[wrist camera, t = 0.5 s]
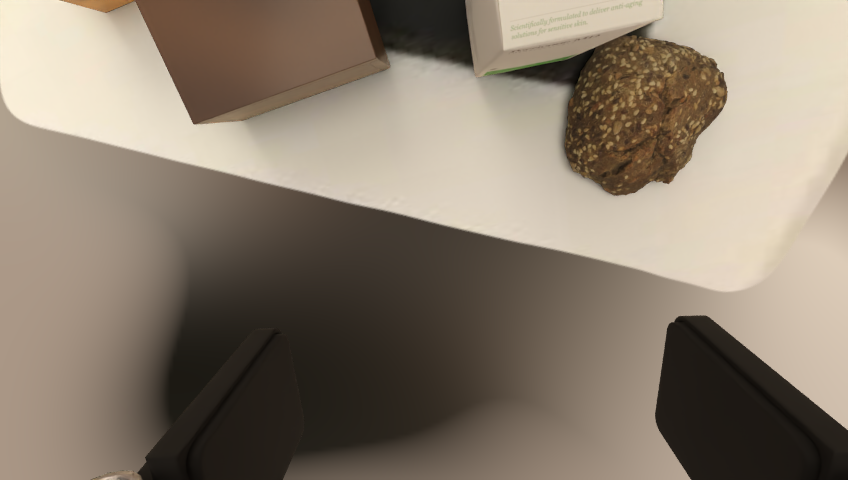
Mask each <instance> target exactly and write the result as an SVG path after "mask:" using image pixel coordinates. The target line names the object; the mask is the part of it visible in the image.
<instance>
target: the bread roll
mask: <svg viewBox="0 0 848 480" xmlns="http://www.w3.org/2000/svg"><path fill="white" fill-rule="evenodd" d="M716 66H717V64H716V62H715V61H714V59H711V58H709V59H708V57H706V56H702V55H700V53H699V52H697V51H695V50H694V49H692V48H690V47H687V46H679V45H676V44H675V43H673V42H668V41H661V40H657V39H649V38H643V37H639V38H637V36H634V35H632V36H627V35H622V36H620V37H618V38H615V39H613V40H611V41H608V42H606V43H604V44H601V45H599V46H598V47H597V48H595V51H594V53H593V55H592V56H591V58H590V59H589V60H588V61H587V63H586V65H585V66H584V68H583V69H582V70H581V72H580V77H579V80H578V82H577V84H576V85H575V91H574V94H573V97H572V98H571V100H570V101H569V105H568V117H567V118H568V127H567V129H566V139H565V149H566V153H567V158H568V159H569V162H570V164H571V167H572V169H573V171H574V172H577V173H580V174H581V175H582V176H583V177H586V178H590V179H592V180H594V181H595V182H596V183H599V184H601V186H602V187H603V189H604V190H605V191H607V192H609V193H611V194H613V195H616V196H617V195H627V194H629V193H635V192H637V191H638V190H639V189H641V188H643V187H644V186H645V185H646V184H648V183H649V182H651V181H656V182H660V181H663V183H667V184H669V183H670V182H671V181H673V179H674V176H675V175H676V174H677V173H678V171H679V170H680V169H682V168H683V167H685V164H687V163H688V162H689V161H690V159H691V157H692V150H693V147H694V144H695V143H696V139H697V138H698V136H699V135H700V134H701V133H702V132H703V131H704V130H705V129H706V128H707V127H708V126H709V125H710V124H711V123H712V121H713V120H714V119H715V118H716V117H717V116H718V115H719V113H720V112H721V111H722V109H723V107H724V105H725V103H726V100H727V86H726V82H725V81H724V73H723V72H721V73H720V72H719V69H718V68H717V67H716Z"/></svg>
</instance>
